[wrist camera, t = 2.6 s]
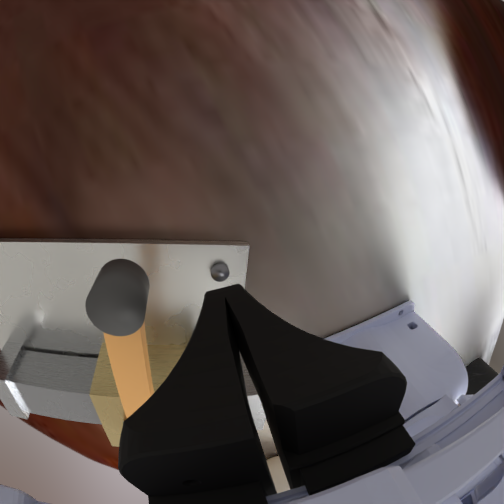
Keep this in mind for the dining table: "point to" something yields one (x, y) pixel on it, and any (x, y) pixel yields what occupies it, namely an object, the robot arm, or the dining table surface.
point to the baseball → (278, 474)
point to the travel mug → (479, 376)
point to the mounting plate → (82, 279)
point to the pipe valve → (84, 385)
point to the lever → (124, 328)
